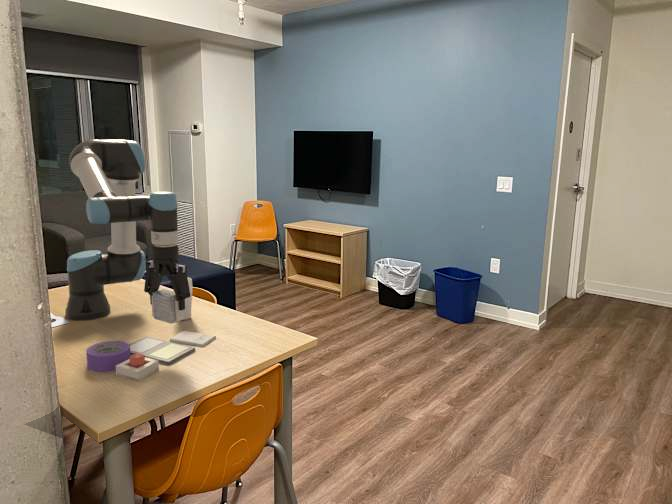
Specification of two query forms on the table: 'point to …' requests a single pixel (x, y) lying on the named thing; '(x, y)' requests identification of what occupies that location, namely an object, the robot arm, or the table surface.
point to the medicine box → (164, 306)
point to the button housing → (137, 369)
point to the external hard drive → (192, 338)
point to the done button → (137, 360)
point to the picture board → (160, 350)
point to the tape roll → (107, 355)
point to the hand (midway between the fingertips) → (168, 317)
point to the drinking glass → (188, 302)
